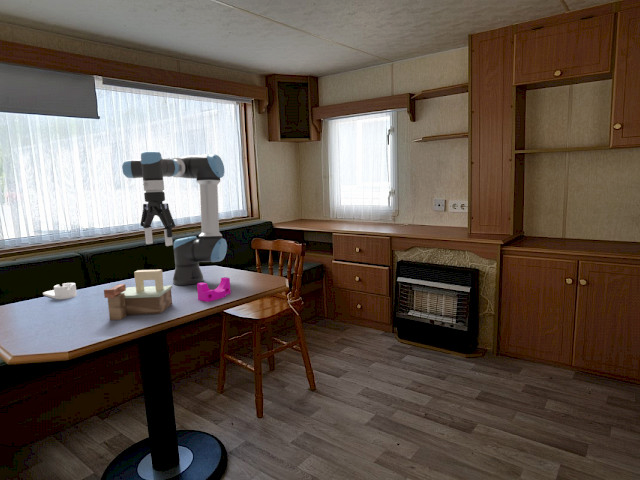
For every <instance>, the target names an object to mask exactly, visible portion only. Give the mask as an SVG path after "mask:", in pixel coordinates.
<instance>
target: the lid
mask: <svg viewBox="0 0 640 480" xmlns="http://www.w3.org/2000/svg"><path fill="white" fill-rule="evenodd" d="M133 273H134V280H135V281H134V282H135V286H127V287H126V290H125V291H124V292H122V293H124V295H125V298H146V297H160V296H161V295H163V294H164V293H166V292H167V291H169V290H170V289H171V290H172V289H173V285H164V279H163V278H164V277H163V276H164V275H163V269H137V270H136V271H134V272H133ZM153 280H154V283H155V284H154V285H153V286H151V285H150V286H145V283H144V281H153Z"/></svg>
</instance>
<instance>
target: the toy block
mask: <svg viewBox="0 0 640 480" xmlns="http://www.w3.org/2000/svg"><path fill="white" fill-rule="evenodd" d="M196 289H197V291H196V292H197V301H202V302H206V303H207V302H208V303H209V302H213V301H216V300H219V299H222V298H226V297H227V296H228V295H231V279H230V277H225V276H224V277H221V278H220V282H219V284H218V286H217V287H216V288H214V289H211V288H209V285H208V283H206V282H199V283H196Z"/></svg>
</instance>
